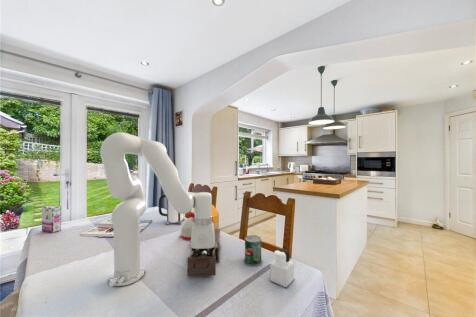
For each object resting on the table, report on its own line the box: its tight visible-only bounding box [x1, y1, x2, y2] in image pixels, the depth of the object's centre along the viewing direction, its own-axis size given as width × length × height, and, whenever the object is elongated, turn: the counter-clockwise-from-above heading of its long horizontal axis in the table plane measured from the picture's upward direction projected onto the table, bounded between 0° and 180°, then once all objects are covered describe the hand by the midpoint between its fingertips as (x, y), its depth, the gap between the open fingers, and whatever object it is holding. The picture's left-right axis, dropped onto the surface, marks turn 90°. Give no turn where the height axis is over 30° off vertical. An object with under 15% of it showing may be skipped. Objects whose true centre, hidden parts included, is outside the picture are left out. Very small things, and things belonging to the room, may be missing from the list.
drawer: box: [186, 249, 217, 277], centre depth 88 cm, size 21×12×7 cm, turn 3°
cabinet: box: [190, 228, 221, 263], centre depth 103 cm, size 18×13×9 cm
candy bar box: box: [41, 205, 62, 234], centre depth 134 cm, size 11×5×16 cm, turn 73°
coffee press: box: [158, 194, 185, 225], centre depth 152 cm, size 17×16×30 cm
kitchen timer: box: [180, 211, 195, 241], centre depth 127 cm, size 14×14×15 cm
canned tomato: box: [244, 234, 262, 267], centre depth 95 cm, size 8×8×11 cm
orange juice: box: [212, 204, 220, 229], centre depth 122 cm, size 8×9×20 cm
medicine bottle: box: [269, 248, 295, 288], centre depth 81 cm, size 7×7×12 cm
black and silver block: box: [200, 250, 207, 257], centre depth 89 cm, size 7×4×4 cm, turn 3°
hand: (203, 261), depth 88 cm, fingers closed on black and silver block, 3 cm apart
